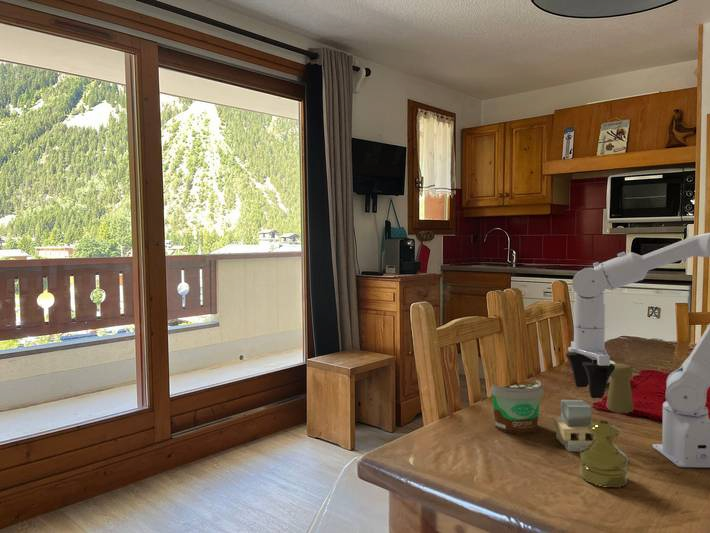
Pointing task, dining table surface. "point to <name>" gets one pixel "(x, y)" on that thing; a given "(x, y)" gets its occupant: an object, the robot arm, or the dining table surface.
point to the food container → (517, 407)
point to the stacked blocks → (573, 420)
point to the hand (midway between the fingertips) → (588, 392)
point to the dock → (574, 442)
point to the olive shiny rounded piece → (603, 457)
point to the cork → (620, 390)
